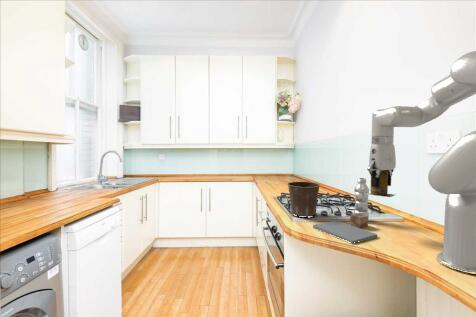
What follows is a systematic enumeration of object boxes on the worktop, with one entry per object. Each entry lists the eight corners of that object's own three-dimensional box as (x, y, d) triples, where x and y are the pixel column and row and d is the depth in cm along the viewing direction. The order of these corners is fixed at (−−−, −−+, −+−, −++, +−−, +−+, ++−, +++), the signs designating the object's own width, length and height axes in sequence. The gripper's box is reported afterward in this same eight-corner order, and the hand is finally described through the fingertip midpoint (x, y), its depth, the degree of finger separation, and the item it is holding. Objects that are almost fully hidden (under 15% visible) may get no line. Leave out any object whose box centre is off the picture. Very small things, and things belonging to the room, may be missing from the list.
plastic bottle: (353, 221, 116) (353, 179, 115) (353, 217, 122) (354, 177, 121) (368, 223, 113) (369, 179, 112) (368, 219, 119) (369, 178, 118)
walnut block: (367, 227, 109) (367, 216, 108) (359, 229, 106) (360, 217, 106) (357, 224, 113) (357, 213, 113) (350, 225, 111) (350, 214, 110)
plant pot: (326, 218, 122) (326, 185, 121) (296, 221, 118) (296, 187, 117) (309, 209, 138) (309, 180, 137) (282, 212, 134) (282, 182, 133)
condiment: (373, 192, 105) (374, 163, 104) (396, 195, 98) (397, 165, 98) (365, 194, 101) (366, 165, 100) (388, 198, 94) (389, 166, 93)
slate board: (377, 237, 97) (377, 234, 97) (352, 244, 91) (352, 241, 90) (336, 222, 115) (336, 220, 115) (313, 227, 108) (313, 225, 108)
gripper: (376, 141, 91) (375, 189, 92) (405, 140, 98) (404, 185, 100) (358, 141, 98) (357, 186, 99) (387, 141, 105) (386, 183, 106)
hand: (381, 185), depth 99 cm, fingers closed on condiment, 6 cm apart
